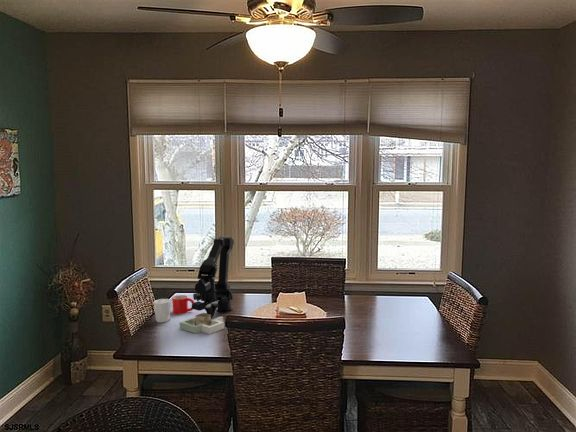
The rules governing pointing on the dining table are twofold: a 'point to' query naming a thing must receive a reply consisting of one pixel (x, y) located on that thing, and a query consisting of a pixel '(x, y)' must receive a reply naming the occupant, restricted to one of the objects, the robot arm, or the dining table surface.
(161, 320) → the white cup
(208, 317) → the block
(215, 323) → the angular open frame
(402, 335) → the dining table surface
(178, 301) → the mug
